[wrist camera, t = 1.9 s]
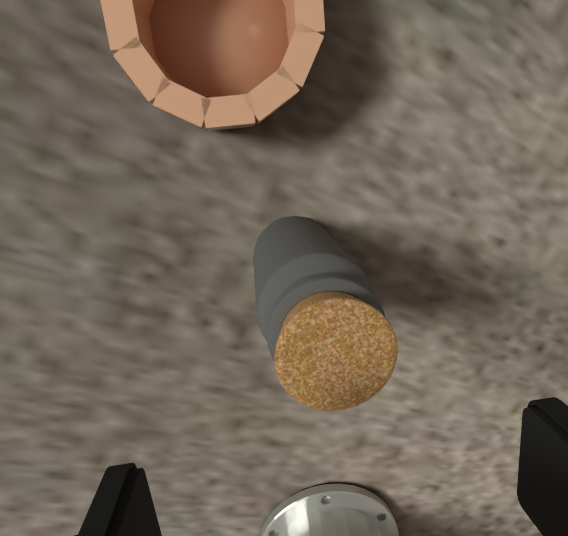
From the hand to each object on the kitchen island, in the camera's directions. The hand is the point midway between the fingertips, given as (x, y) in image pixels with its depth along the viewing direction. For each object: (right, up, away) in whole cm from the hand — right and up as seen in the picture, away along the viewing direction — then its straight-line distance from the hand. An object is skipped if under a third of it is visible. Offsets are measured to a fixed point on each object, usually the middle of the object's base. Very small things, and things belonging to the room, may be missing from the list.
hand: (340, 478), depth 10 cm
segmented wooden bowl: (-5, +19, +15) cm, 25 cm away
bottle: (-1, +6, +20) cm, 21 cm away
